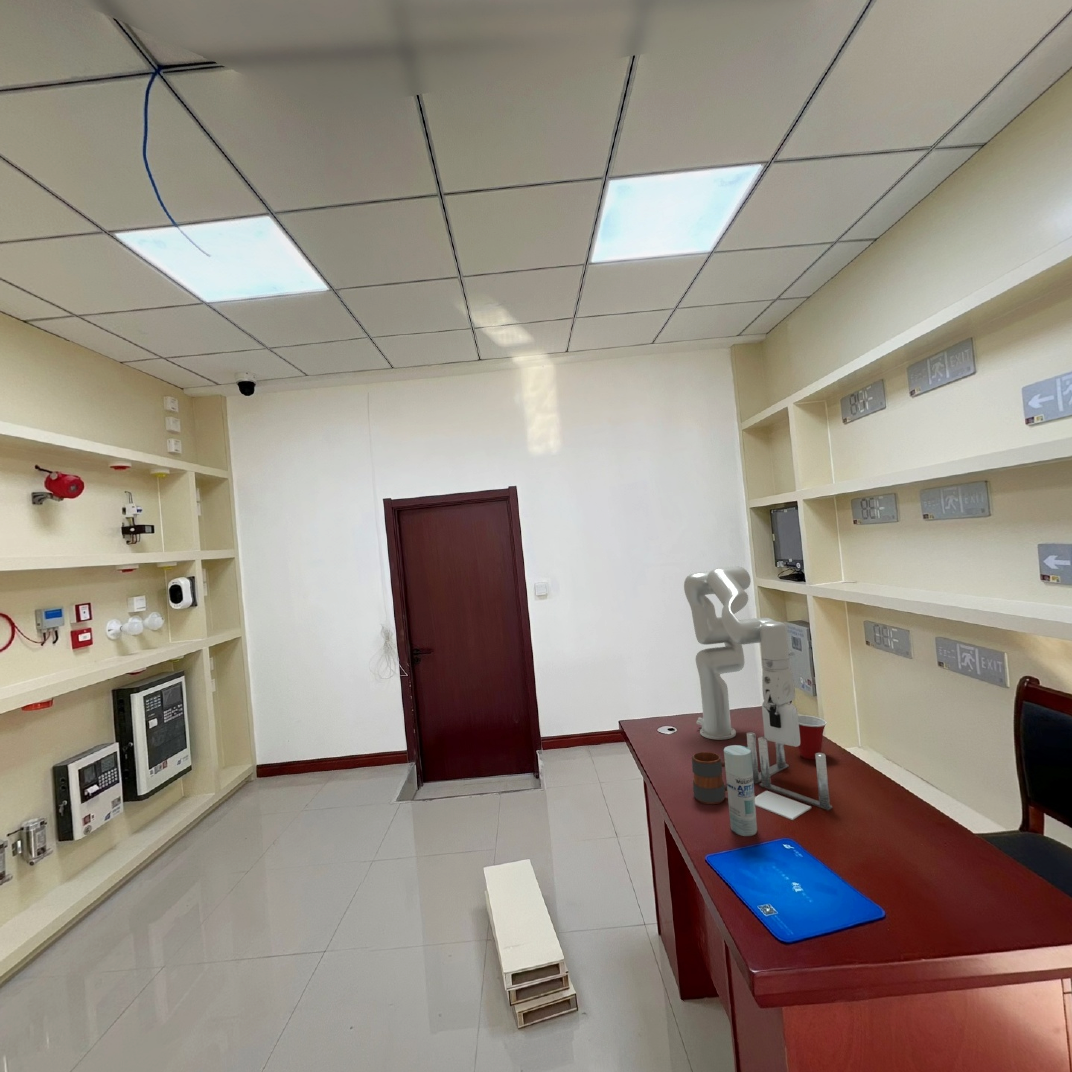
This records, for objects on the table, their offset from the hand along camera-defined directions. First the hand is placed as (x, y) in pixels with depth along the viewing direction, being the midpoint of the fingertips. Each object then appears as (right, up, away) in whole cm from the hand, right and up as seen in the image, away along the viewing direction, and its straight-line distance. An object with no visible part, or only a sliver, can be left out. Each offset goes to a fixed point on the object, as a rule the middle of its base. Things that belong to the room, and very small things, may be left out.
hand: (780, 724), depth 163 cm
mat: (-7, -17, -15) cm, 24 cm away
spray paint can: (-21, -18, -26) cm, 37 cm away
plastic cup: (+16, -15, +14) cm, 27 cm away
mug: (-22, -18, -8) cm, 30 cm away
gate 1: (-2, -17, +4) cm, 17 cm away
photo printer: (0, -6, 0) cm, 6 cm away
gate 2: (-1, -16, -11) cm, 20 cm away
